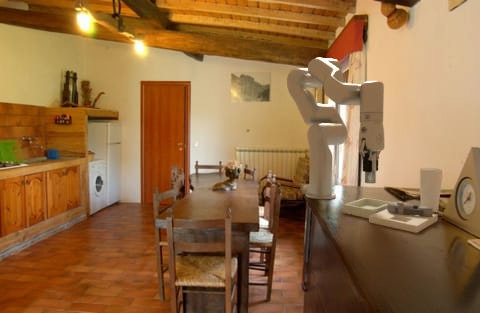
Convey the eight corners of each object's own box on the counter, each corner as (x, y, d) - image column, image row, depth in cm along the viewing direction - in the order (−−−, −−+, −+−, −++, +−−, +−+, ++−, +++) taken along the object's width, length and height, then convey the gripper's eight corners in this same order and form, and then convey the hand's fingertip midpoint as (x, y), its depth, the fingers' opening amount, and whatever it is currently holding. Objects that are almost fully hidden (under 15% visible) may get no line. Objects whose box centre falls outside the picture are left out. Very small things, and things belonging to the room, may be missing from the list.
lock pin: (373, 184, 108) (374, 145, 107) (360, 182, 112) (361, 145, 110) (379, 182, 111) (380, 145, 110) (367, 181, 115) (367, 145, 113)
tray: (343, 212, 111) (343, 204, 111) (365, 205, 122) (365, 197, 121) (372, 219, 104) (372, 210, 103) (393, 210, 114) (393, 202, 113)
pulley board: (369, 222, 101) (369, 206, 100) (392, 212, 112) (393, 197, 111) (416, 232, 90) (417, 214, 90) (437, 220, 101) (438, 204, 101)
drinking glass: (443, 213, 109) (445, 170, 108) (422, 213, 110) (424, 170, 109) (435, 208, 116) (437, 167, 114) (415, 208, 117) (417, 167, 115)
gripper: (370, 117, 101) (369, 174, 103) (392, 118, 112) (391, 169, 114) (348, 118, 107) (347, 172, 108) (372, 119, 118) (371, 168, 119)
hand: (370, 170), depth 111 cm, fingers closed on lock pin, 3 cm apart
